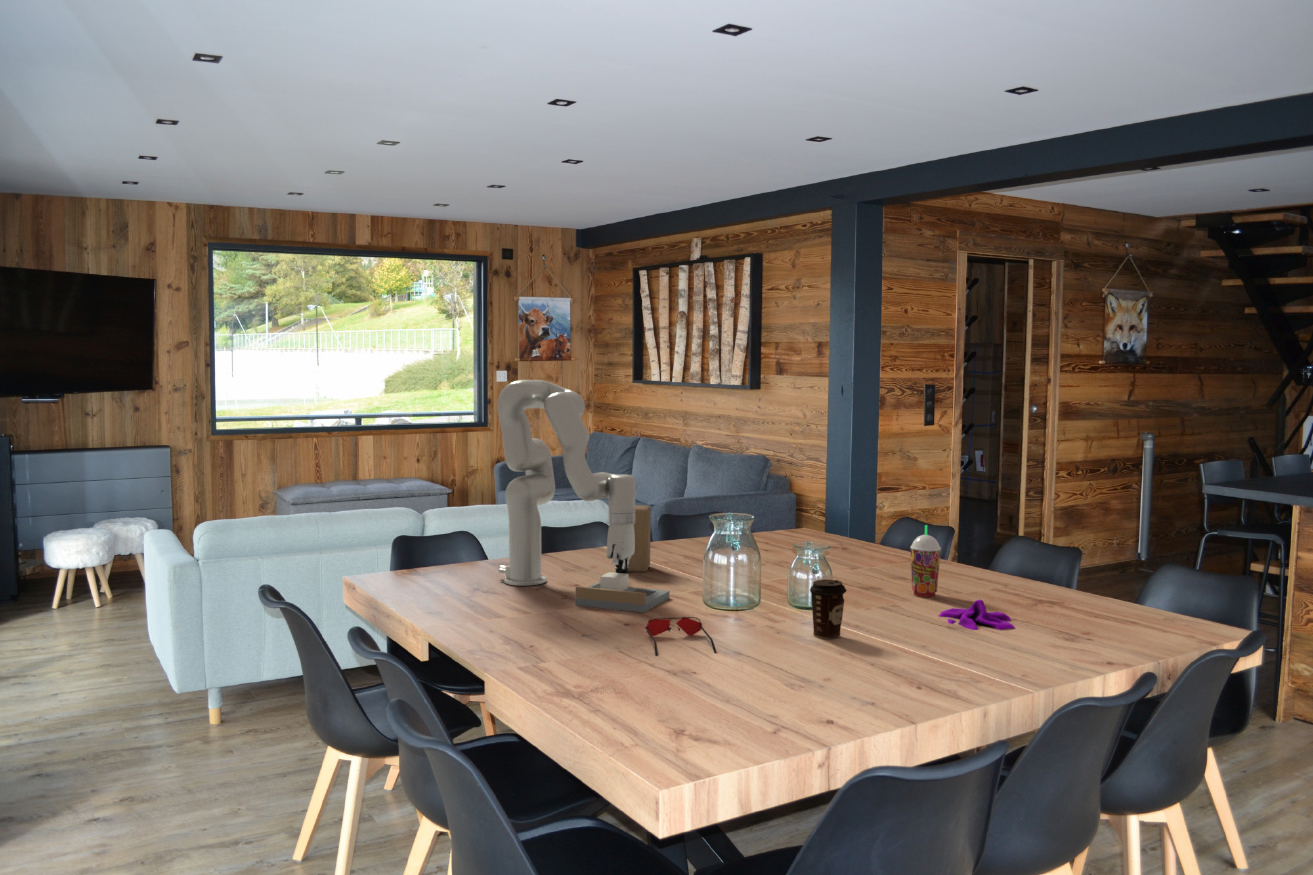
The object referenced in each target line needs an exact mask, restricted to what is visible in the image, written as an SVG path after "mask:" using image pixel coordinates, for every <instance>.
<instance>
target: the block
mask: <svg viewBox="0 0 1313 875" xmlns="http://www.w3.org/2000/svg"><path fill="white" fill-rule="evenodd" d="M651 512H652V511H651V507H650V505H648V504H645V505H644V504H635V524H634V534H635V551H634V554H633V555H632V556H631V559H630V560H629V567H628V573H631V572H632V573H646V572H647V571H648V570H649V568H650V565H651ZM618 558H619V557H618Z"/></svg>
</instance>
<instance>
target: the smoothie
mask: <svg viewBox="0 0 1313 875" xmlns="http://www.w3.org/2000/svg"><path fill="white" fill-rule="evenodd" d="M909 548H910V566H911V567H910V568H911V570H910V572H911V590H912V591H913V594H914V595H913V596H916V597H919V598H933V597H935V595H936V593H937V591H938V584H939V572H940V562H941V550H942V548H941V546H940V543H939V541H938V540H937V539H936V538H935V537H933V536H932V535H929V534H928V524H926V525H925V524H924V534H921V535H918V536H917V537H915V539H914V540H913V542H912V544H911V545H910V547H909Z"/></svg>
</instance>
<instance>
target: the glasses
mask: <svg viewBox="0 0 1313 875" xmlns="http://www.w3.org/2000/svg"><path fill="white" fill-rule="evenodd" d="M675 619H677V620H678V619H679V620H678V621H676V622H675V624H676V625H677V628H678V631H683V632H684V633H685V634H686V635H687V636H694V635H696V634H697V633H699V632H701V631H703V633H704V634H705V635H706V637H707V638H708V639H709V640H710V643H711V646H712V650H713V653H714V654H717V653H718V652H717V649H716V646H715V643H714V642H715V641H714V640H713V638H712V636H710V634H708V632H707V631H706V630H705V628H704V627H703V625H702V624H703V623H702V622H701V619H700V618H697V617H694V616H688V617H687V616H682V617H661V618H657V617H656V618H650V619H648V621H647V623H646V625H645V627H644V628H645V630H646V632H645V633H646V634H647V635H648V637H650V638H651V640H652V642H653V645H654V654H655V656H656V657H658V656H659V654H658V644H657V641H656V639H655V638H654V637H655V636H658V635H660V634H663V633H666V632H667V631H668V633H670V632H671V630H672V627H670V626H671V620H675ZM694 619H695V620H694ZM697 620H698V621H697Z"/></svg>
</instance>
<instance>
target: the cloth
mask: <svg viewBox="0 0 1313 875" xmlns="http://www.w3.org/2000/svg"><path fill="white" fill-rule="evenodd" d="M938 617H940V618H948V619H947V624H949V625H954V624H956V623H957V621H956V620H959V621H958V623H957V624H958V625H959V626H961V627H963V628H965V629H968V630H971V631H979V628H978V626H979V625H981V626H985V627H988V628H993V629H994V630H998V631H1002V630H1013V629H1016V627H1015V626H1014V625H1013V624H1012V623H1011V622H1012V619H1011V617H1010V615H1007V614H1006V613H1004V612H999V611H993V612H987V610H986V605H985V602H984V600H982V599H976V600H975V601H974V602H973V604H972V605H970V607H969V608H968V609H967V608H957V607H955V608H949V609H946V610H943V611H941V612H940V613H939V614H938Z"/></svg>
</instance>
